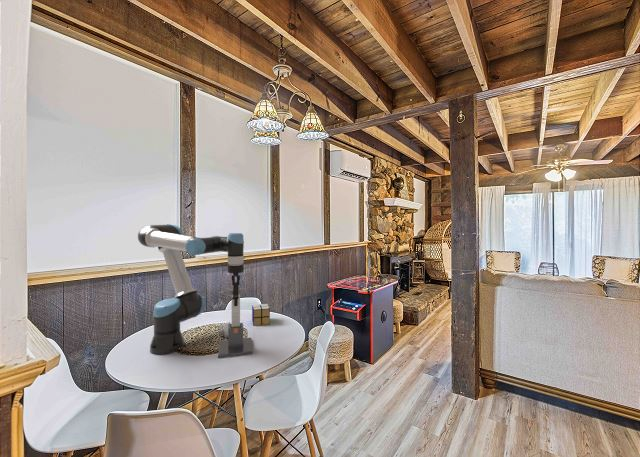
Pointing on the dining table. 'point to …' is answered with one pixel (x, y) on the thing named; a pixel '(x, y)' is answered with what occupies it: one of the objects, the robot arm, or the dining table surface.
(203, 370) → the dining table surface
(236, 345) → the jack stand base
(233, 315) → the post
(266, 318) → the puzzle cube
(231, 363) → the dining table surface
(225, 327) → the bunny figurine
